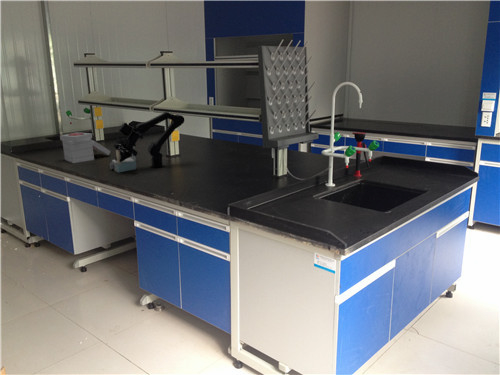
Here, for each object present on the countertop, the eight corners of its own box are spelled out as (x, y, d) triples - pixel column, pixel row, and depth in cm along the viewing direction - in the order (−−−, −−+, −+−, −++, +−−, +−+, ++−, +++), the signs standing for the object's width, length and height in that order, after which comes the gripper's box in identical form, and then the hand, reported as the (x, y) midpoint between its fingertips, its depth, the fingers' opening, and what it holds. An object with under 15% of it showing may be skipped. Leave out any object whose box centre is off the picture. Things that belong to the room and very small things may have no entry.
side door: (135, 168, 276) (133, 147, 272) (137, 168, 274) (135, 147, 270) (117, 172, 268) (114, 150, 264) (118, 172, 266) (116, 150, 262)
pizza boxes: (112, 157, 312) (109, 132, 307) (71, 164, 292) (67, 137, 287) (100, 153, 325) (98, 129, 320) (60, 160, 306) (57, 134, 301)
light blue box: (131, 165, 284) (130, 157, 283) (135, 169, 276) (134, 160, 274) (109, 168, 278) (108, 160, 276) (112, 171, 270) (111, 163, 268)
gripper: (114, 131, 269) (100, 151, 264) (131, 134, 257) (117, 156, 253) (126, 141, 277) (113, 161, 272) (143, 145, 265) (129, 166, 261)
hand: (117, 161), depth 264 cm, fingers open, 4 cm apart
